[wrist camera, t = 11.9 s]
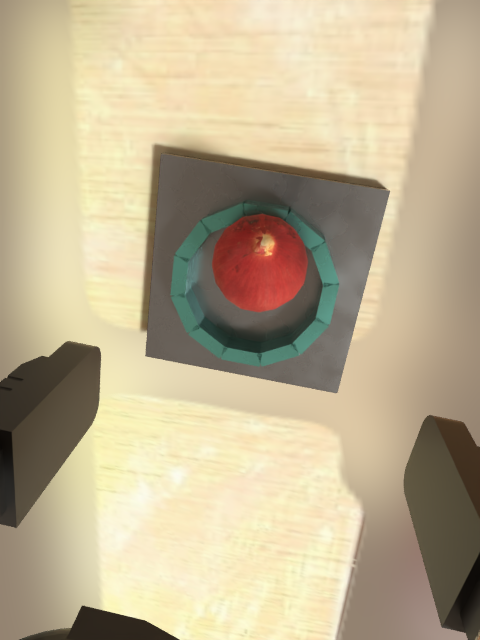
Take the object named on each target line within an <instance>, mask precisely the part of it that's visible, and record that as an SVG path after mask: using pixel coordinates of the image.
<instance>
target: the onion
mask: <svg viewBox="0 0 480 640" xmlns="http://www.w3.org/2000/svg"><path fill="white" fill-rule="evenodd" d="M307 265H308V259H307V254H306V250H305V245H304V243H303V241H302V239H301V238H300V236H299V235H298V233H297V232H296V230H295V229H294V228H293V227H292V226H290V225H289V224H288V223H286V222H285V221H284V220H282V219H281V218H278V217H274V216H269V215H265V214H258V215H252V216H245V217H242V218H240V219H239V220H238V221H236V222H235V223H233V224H232V225H231V226H229V227H228V228H226V229H225V230H224V232H223V233H222V235H221V237H220V238H219V240H218V242H217V243H216V245H215V249H214V255H213V260H212V268H213V273H214V277H215V282H216V284H217V286H218V287H219V288H220V290H221V291H222V293H223V294H224V296H225V297H226V299H227V300H229V301H230V302H232V303H233V304H235V305H236V306H237V307H239V308H240V309H244V310H249V311H254V312H263V311H268V310H273V309H276V308H278V307H280V306H281V305H283V304H285V303H286V302H288V301H290V300H292V299H293V298H294V297H295V295H296V294H297V293H298V291H299V290H300V288H301V287H302V286H303V284H304V281H305V277H306V271H307Z"/></svg>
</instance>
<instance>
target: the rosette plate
mask: <svg viewBox="0 0 480 640" xmlns="http://www.w3.org/2000/svg"><path fill="white" fill-rule="evenodd" d="M389 193H390V191H389V190H388V189H382V188H376V187H370V186H363V185H357V184H351V183H345V182H339V181H333V180H327V179H321V178H314V177H308V176H302V175H296V174H290V173H284V172H278V171H271V170H265V169H259V168H253V167H247V166H241V165H235V164H229V163H222V162H216V161H210V160H204V159H198V158H192V157H186V156H179V155H173V154H167V153H161V160H160V173H159V186H158V199H157V212H156V225H155V238H154V251H153V264H152V277H151V290H150V303H149V316H148V329H147V342H146V355H145V356H147V357H152V358H157V359H163V360H168V361H173V362H178V363H183V364H188V365H194V366H199V367H204V368H209V369H214V370H220V371H225V372H230V373H235V374H240V375H245V376H250V377H256V378H261V379H266V380H271V381H276V382H282V383H286V384H292V385H297V386H302V387H307V388H312V389H317V390H323V391H328V392H333V393H337V392H338V388H339V384H340V381H341V377H342V373H343V369H344V365H345V361H346V357H347V354H348V350H349V346H350V342H351V339H352V335H353V331H354V327H355V323H356V319H357V316H358V312H359V308H360V304H361V300H362V296H363V293H364V289H365V285H366V281H367V277H368V274H369V270H370V266H371V262H372V258H373V254H374V251H375V247H376V243H377V239H378V235H379V231H380V228H381V224H382V220H383V216H384V212H385V208H386V205H387V201H388V197H389ZM258 214H265V215H269V216H274V217H278V218H281V219H282V220H284V221H285V222H286V223H288V224H289V225H290V226H292V227H293V228H294V229H295V230H296V232H297V233H298V235H299V236H300V238H301V239H302V241H303V243H304V245H305V250H306V254H307V259H308V265H307V271H306V277H305V281H304V284H303V286H302V287H301V288H300V290H299V291H298V293H297V294H296V295H295V297H294V298H293V299H292V300H290V301H288V302H286V303H285V304H283V305H281V306H280V307H278V308H276V309H273V310H268V311H263V312H254V311H249V310H244V309H240V308H239V307H237V306H236V305H235V304H233V303H232V302H230V301H229V300H227V299H226V297H225V296H224V294H223V293H222V291H221V290H220V288H219V287H218V286H217V284H216V282H215V277H214V273H213V268H212V260H213V255H214V249H215V245H216V243H217V242H218V240H219V238H220V237H221V235H222V233H223V232H224V230H225V229H226V228H228V227H229V226H231V225H232V224H233V223H235V222H236V221H238V220H239V219H240V218H242V217H245V216H252V215H258Z"/></svg>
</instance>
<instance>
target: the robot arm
mask: <svg viewBox="0 0 480 640" xmlns="http://www.w3.org/2000/svg"><path fill="white" fill-rule="evenodd" d="M100 367H101V352H100V349H99V348H98V347H96V346H91V345H86V344H81V343H76V342H71V341H67V342H65V343H64V344H63V345H62V346H61V347H60V348H59V349H57V350H56V351H55V352H54V353H53V354H52V355H51V356H49V357H45V356H41V357H38V358H36V359H33V360H31V361H29V362H26V363H24V364H21V365H20V366H19V367H18V368H17V369H15V370H14V371H13V372H12V373H11V374H9V375H8V377H7V378H5V379H3V380H2V381H1V382H0V524H2V525H7V526H11V527H15V528H17V527H18V525H19V524H20V523H21V521H22V520H23V519H24V517H25V516H26V514H27V513H28V512H29V510H30V509H31V507H32V506H33V505H34V503H35V502H36V501H37V499H38V498H39V496H40V495H41V494H42V492H43V491H44V490H45V488H46V487H47V485H48V484H49V483H50V481H51V480H52V478H53V477H54V476H55V474H56V473H57V472H58V470H59V469H60V468H61V466H62V465H63V463H64V462H65V461H66V459H67V458H68V457H69V455H70V454H71V452H72V451H73V450H74V448H75V447H76V446H77V444H78V443H79V441H80V440H81V439H82V437H83V436H84V435H85V433H86V432H87V430H88V429H89V428H90V426H91V425H92V423H93V421H94V419H95V416H96V413H97V410H98V405H99V392H100ZM404 492H405V496H406V500H407V504H408V507H409V511H410V515H411V518H412V522H413V525H414V529H415V532H416V536H417V540H418V543H419V547H420V550H421V554H422V557H423V562H424V565H425V569H426V572H427V576H428V579H429V583H430V587H431V590H432V594H433V598H434V601H435V605H436V608H437V612H438V616H439V619H440V623H441V626H442V627H443V628H447V629H451V630H456V631H460V632H464V633H466V635H467V638H468V640H480V447H478V446H477V445H476V444H475V442H474V440H473V438H472V437H471V434H470V433H469V431H468V429H467V427H466V426H465V424H464V423H463V422H461V421H457V420H452V419H447V418H442V417H437V416H432V415H429V416H427V417H426V418H425V420H424V422H423V424H422V426H421V429H420V431H419V434H418V437H417V439H416V442H415V445H414V447H413V450H412V453H411V455H410V458H409V461H408V463H407V466H406V469H405V474H404ZM20 640H179V639H177V638H176V637H174V636H172V635H170V634H168V633H167V632H165V631H163V630H161V629H159V628H158V627H156V626H154V625H152V624H151V623H149V622H147V621H145V620H141V619H136V618H132V617H128V616H124V615H120V614H115V613H111V612H107V611H103V610H99V609H94V608H90V607H86V606H82V607H81V609H80V611H79V613H78V615H77V618H76V620H75V622H74V624H73V626H72V628H66V629H57V630H51V631H45V632H41V633H38V634H34V635H31V636H27V637H25V638H22V639H20Z"/></svg>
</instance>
